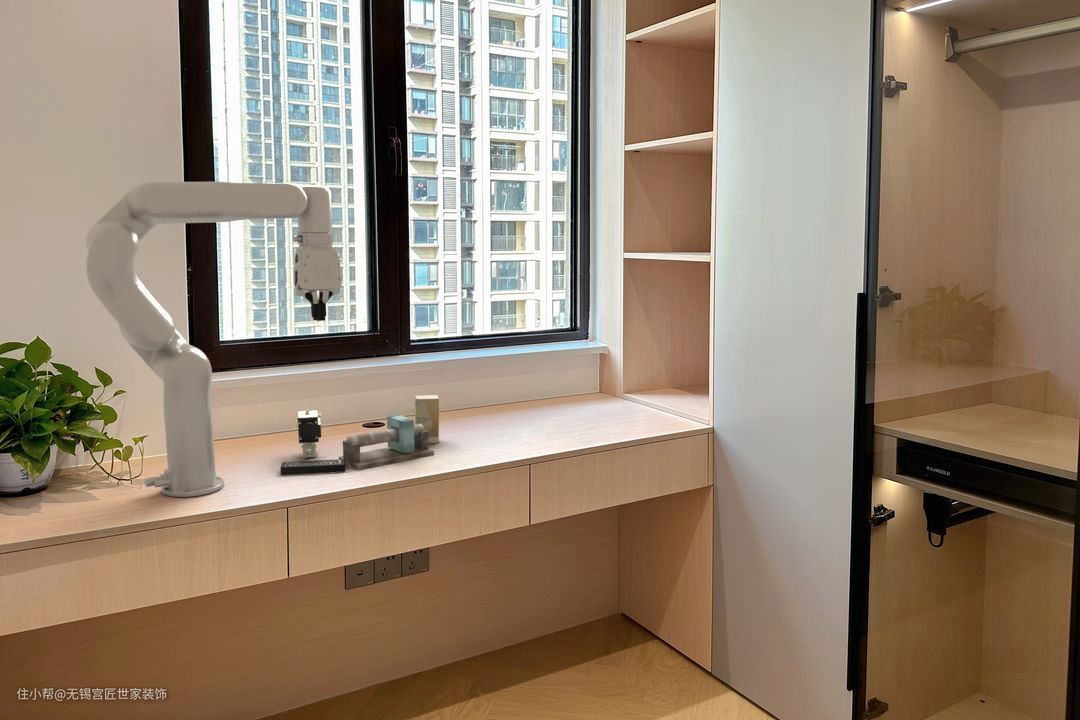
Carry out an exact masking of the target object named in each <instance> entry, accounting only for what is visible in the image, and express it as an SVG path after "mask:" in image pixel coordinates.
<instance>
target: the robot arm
mask: <svg viewBox="0 0 1080 720" xmlns="http://www.w3.org/2000/svg"><path fill="white" fill-rule="evenodd" d="M331 193H332V192H331V190H330V188H329V187H327V186H326V185H324V186H323V185H303V186H302V185H301V186H299V185H297V184H295V183H290V182H256V183H255V182H251V183H249V182H248V183H247V182H242V183H241V182H229V181H150V182H144V183H140V184H137V185H135V186H133V187H132V188H131V189H130V190H129V191H128V192H127V193H126V194H125V195H124V196H123V197H122V198H120V200H119V201H118V202H117V203H116V204H114V206H113V207H111V208H110V209H109V211H107V212H106V213H105V214H104V215H103V216H102V217H101V218H100V219H98V221H96V223H94V224H93V225H92V226H91V228H90V229H89V231H88V232H87V235H86V238H85V239H86V241H85V244H86V248H87V250H88V253H87V257H86V266H85V267H86V276H87V280H88V284H89V286H90V288H91V290H92V292H93V293H94V295H95V296H96V297H97V299H98V300H99V302H101V304H102V305H103V306H104V308H105V309H106V310H107V311H108V313H109V314H110V316H111V317H112V318H113V319H114V320H115V321H116V322H117V323H118V327H119V331H120V332H119V333H120V334H121V335H122V337H123V338H124V340H125V341H126V342H127V344H129V346H130V347H131V348H132V349H133V351H134V352H136V354H137V355H138V356H139V357H140V359H142V360H143V362H145V364H146V365H147V366H148V367H149V369H150V370H151V371H152V372H154V374H155V375H156V376H157V377H158V378H159V379H161V381H162V382H163V399H162V401H163V405H162V406H163V419H164V430H165V431H164V432H165V442H166V443H165V444H166V446H165V447H166V456H167V457H166V458H167V468H166V469H164V470H163V472H164V473H161V474H159V476H149V477H145V478H144V485H145V487H146V488H150V487H153V486H154V488H161V493H162V494H164V495H165V496H169V497H175V498H189V497H199V496H204V495H208V494H211V493H215V492H217V491H219V490H221V489H222V488H223V487H224V484H225V482H224V481H225V480H224V478H222V477H220V476H217V472H216V458H215V457H216V456H215V442H214V441H215V440H214V429H213V428H214V426H213V415H212V413H213V412H212V383H213V381H212V380H213V372H212V371H213V370H212V365H211V363H210V360H209V358H208V357H207V354H205V352H203V350H201V349H200V348H198V347H195V346H194V345H191V344H189V343H188V341H187V340H186V339H185V338H184V337H183V336H182V334H181V333H180V332H179V331H178V330H177V329H176V325H175V322H174V320H173V318H172V316H171V314H170V313H169V312H168V311H167V310H165V309H164V308H163V306H162V305H161V304H160V303H159V302H158V301H157V299H156V298H155V297H154V296H153V295H152V294H151V293H150V292H149V291H148V289H147V287H145V285H144V283H143V282H142V281H141V280H140V278H139V277H138V276H137V273H136V271H135V267H134V262H135V258H136V256H137V254H138V251H139V247H140V242H141V241H142V240H143V239H144V238H145V237H146V236H147V235H148V234H149V233H150V231H152V230H153V229H154V228H155V226H157V225H164V224H165V225H167V224H197V223H198V224H200V223H201V224H205V223H230V222H236V221H243V220H265V219H268V220H269V219H295V218H297V230H298V233H297V235H293V237H292V241H293V243H294V242H295V243H297V244H298V246H297V247H296V249H295V255H294V261H293V285H294V287H295V290H294V295H295V296H298V297H303V298H305V299H306V301H308V303H309V304H310V313H311V317H312V320H313V321H316V322H321V321H322V322H325V321H326V317H327V304H328V303H329V300H330V299H331V297H333V296H335V295H339V294H340V293H341V289H340V288H342V286H343V285H342V284H343V280H342V279H343V277H342V268H341V261H340V256H339V252H338V248H337V246H333V245H334V242H333V241H334V240H333V218H332V217H333V216H332V215H333V214H332V194H331Z"/></svg>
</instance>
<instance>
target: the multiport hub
mask: <svg viewBox="0 0 1080 720" xmlns="http://www.w3.org/2000/svg"><path fill="white" fill-rule="evenodd" d="M346 465H347V464H345V459H339V458H337V459H321V460H320V459H319V460H318V459H317V460H316V459H315V460H298V461H297V460H296V461H283V462H281V464H280V475H281V476H289V475H291V476H292V475H309V474H311V475H313V474H328V473H330V472H331V473H332V472H334V473H346Z"/></svg>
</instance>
